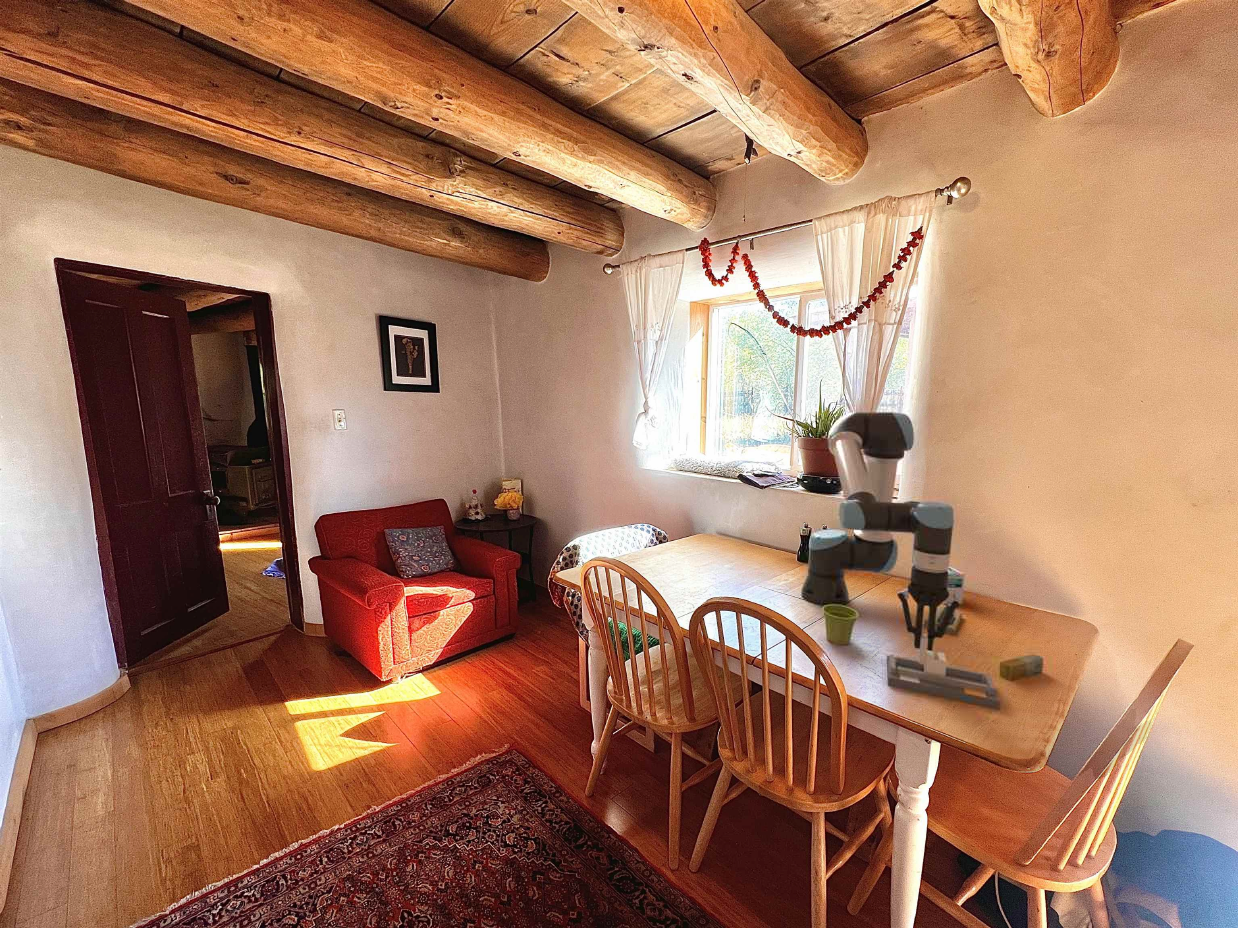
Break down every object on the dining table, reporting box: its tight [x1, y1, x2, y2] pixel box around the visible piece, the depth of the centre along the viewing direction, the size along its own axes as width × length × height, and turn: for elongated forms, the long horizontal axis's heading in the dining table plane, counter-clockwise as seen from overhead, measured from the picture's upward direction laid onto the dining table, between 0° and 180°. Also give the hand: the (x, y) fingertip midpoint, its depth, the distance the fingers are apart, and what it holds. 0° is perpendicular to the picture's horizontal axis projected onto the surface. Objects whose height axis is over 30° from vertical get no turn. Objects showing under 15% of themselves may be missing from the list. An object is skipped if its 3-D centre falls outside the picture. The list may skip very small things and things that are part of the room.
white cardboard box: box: [924, 649, 947, 676], centre depth 124 cm, size 4×4×5 cm
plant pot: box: [822, 605, 859, 646], centre depth 146 cm, size 9×9×9 cm
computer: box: [922, 604, 963, 636], centre depth 158 cm, size 16×8×3 cm, turn 140°
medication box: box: [999, 653, 1044, 682], centre depth 129 cm, size 12×3×4 cm, turn 109°
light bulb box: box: [941, 565, 966, 605], centre depth 177 cm, size 11×7×11 cm, turn 179°
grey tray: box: [885, 654, 1001, 711], centre depth 124 cm, size 22×12×4 cm, turn 64°
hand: (921, 661), depth 125 cm, fingers closed
